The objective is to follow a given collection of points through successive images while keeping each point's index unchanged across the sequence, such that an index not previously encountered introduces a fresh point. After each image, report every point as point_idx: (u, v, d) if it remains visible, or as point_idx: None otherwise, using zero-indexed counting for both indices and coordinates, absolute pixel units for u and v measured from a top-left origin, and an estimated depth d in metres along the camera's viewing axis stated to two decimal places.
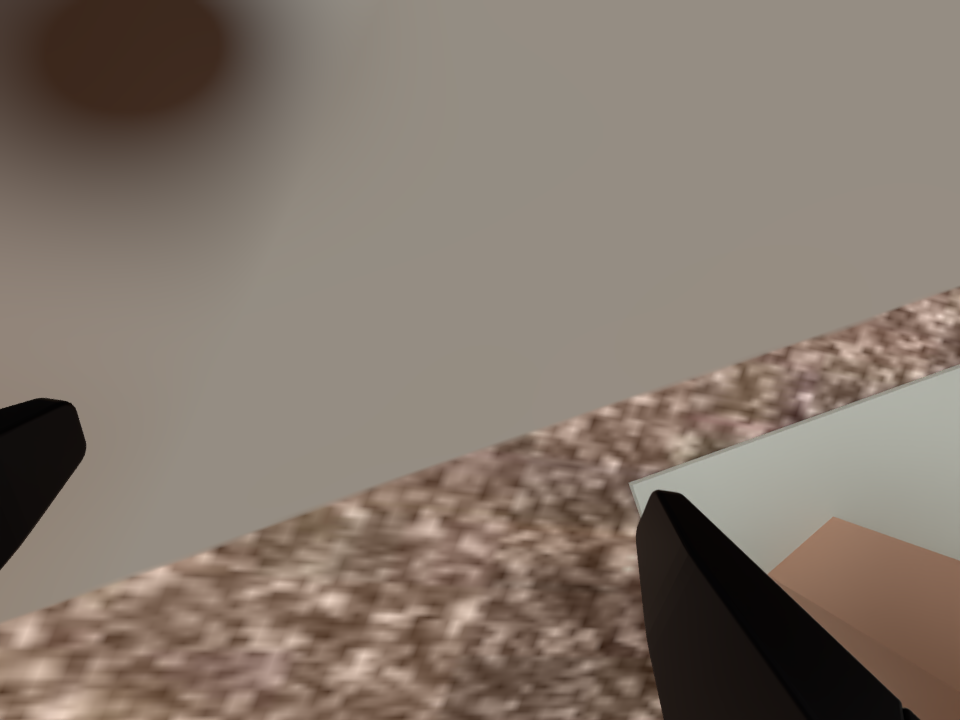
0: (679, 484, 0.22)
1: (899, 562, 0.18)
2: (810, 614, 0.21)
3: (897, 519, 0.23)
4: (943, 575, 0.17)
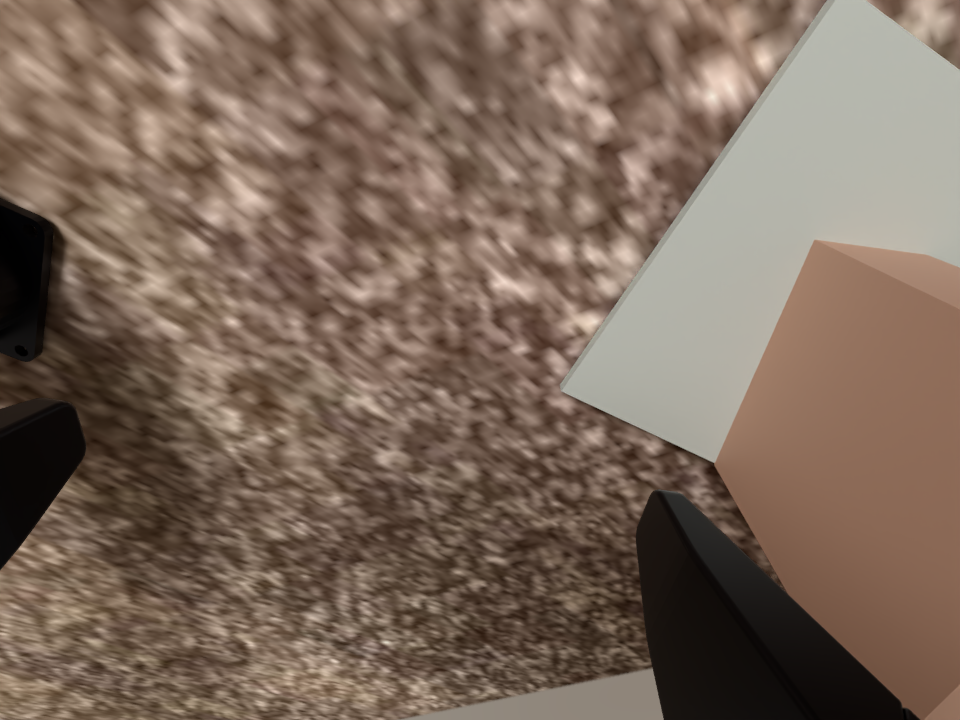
0: (879, 49, 0.15)
1: None
2: (820, 293, 0.17)
3: None
4: None
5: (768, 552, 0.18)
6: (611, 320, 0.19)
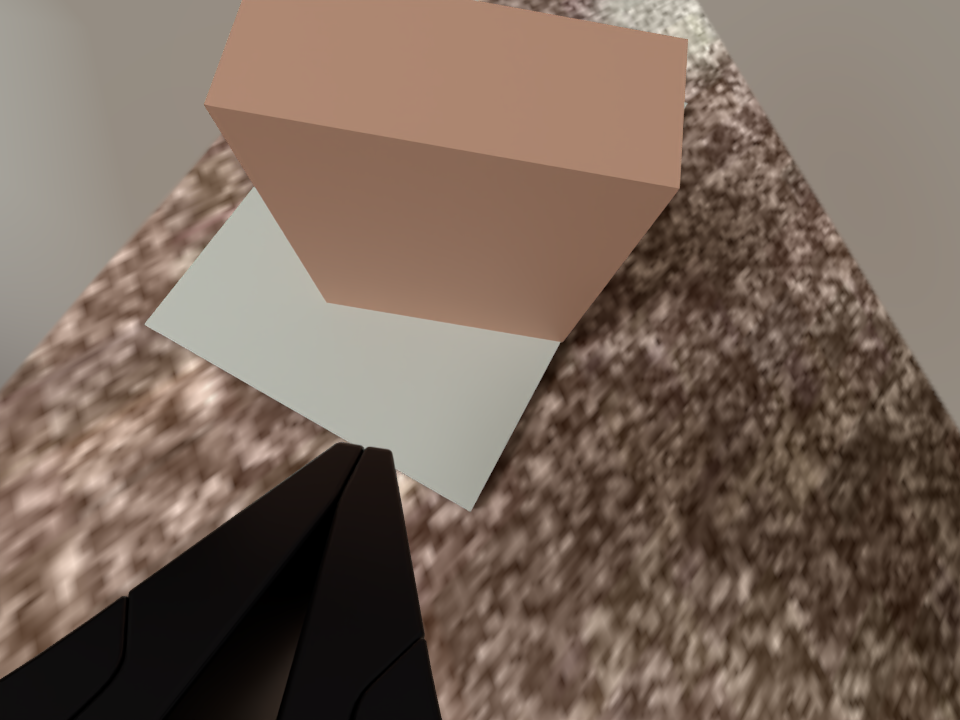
0: (190, 292, 0.21)
1: None
2: (353, 294, 0.20)
3: None
4: None
5: (590, 297, 0.16)
6: None
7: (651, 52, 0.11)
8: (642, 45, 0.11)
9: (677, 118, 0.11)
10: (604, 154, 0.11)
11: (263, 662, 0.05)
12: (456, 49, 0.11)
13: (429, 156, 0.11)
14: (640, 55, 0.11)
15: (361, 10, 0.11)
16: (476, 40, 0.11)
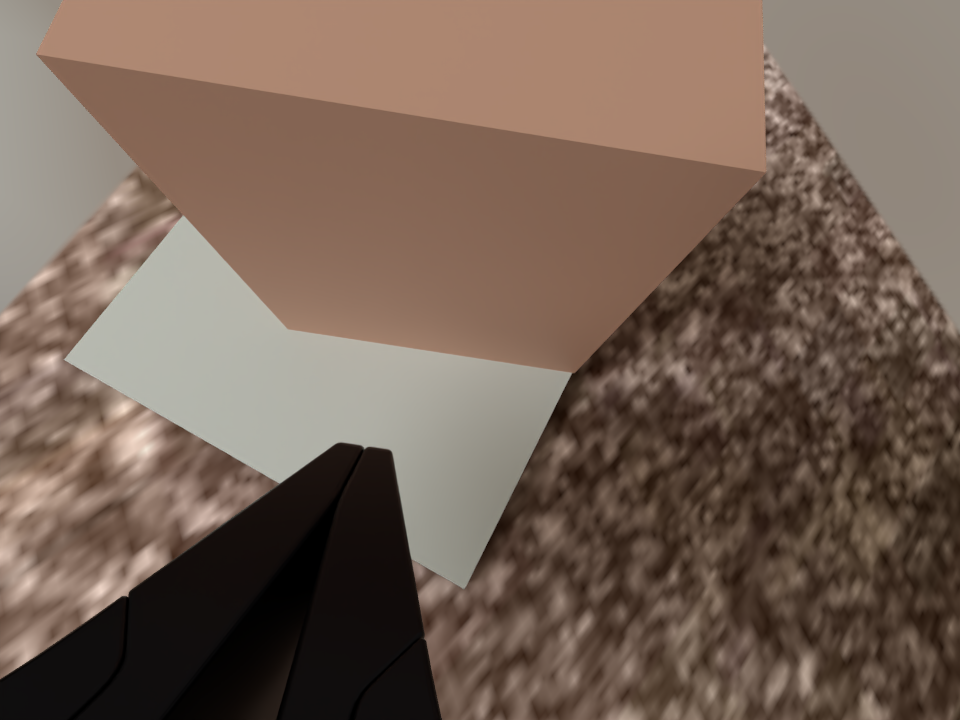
0: (122, 319, 0.17)
1: None
2: (317, 320, 0.16)
3: None
4: None
5: (613, 323, 0.13)
6: None
7: None
8: None
9: (754, 69, 0.07)
10: (650, 122, 0.07)
11: (263, 662, 0.05)
12: None
13: (384, 131, 0.07)
14: None
15: None
16: None
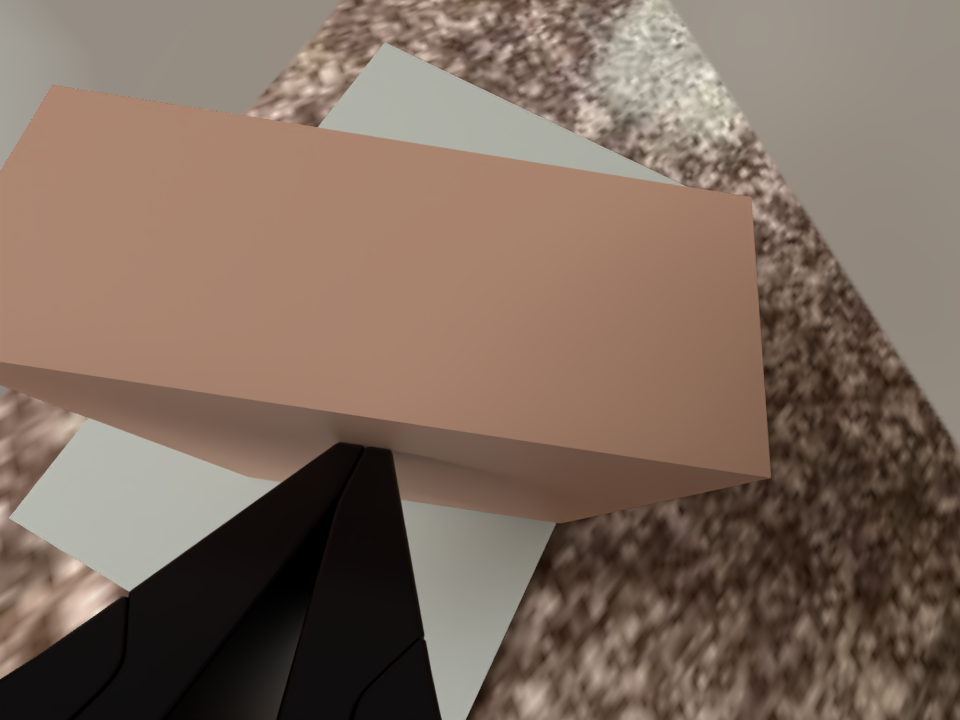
0: (73, 469, 0.16)
1: None
2: (278, 477, 0.15)
3: None
4: None
5: (599, 511, 0.12)
6: None
7: (695, 220, 0.07)
8: (679, 208, 0.07)
9: (750, 338, 0.06)
10: (631, 413, 0.06)
11: (263, 662, 0.05)
12: (371, 225, 0.07)
13: (319, 417, 0.06)
14: (678, 226, 0.07)
15: (215, 162, 0.07)
16: (407, 208, 0.07)
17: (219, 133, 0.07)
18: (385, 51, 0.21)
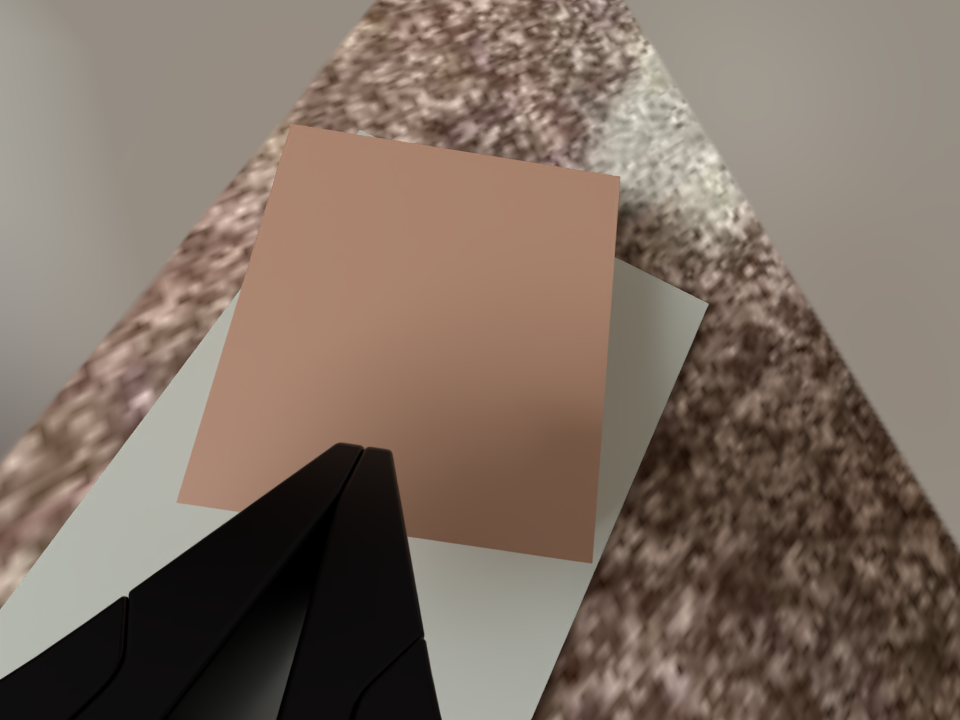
0: (5, 640, 0.14)
1: None
2: (252, 449, 0.12)
3: None
4: None
5: (599, 368, 0.13)
6: None
7: None
8: None
9: None
10: None
11: (263, 662, 0.05)
12: None
13: (443, 159, 0.15)
14: None
15: None
16: None
17: None
18: None
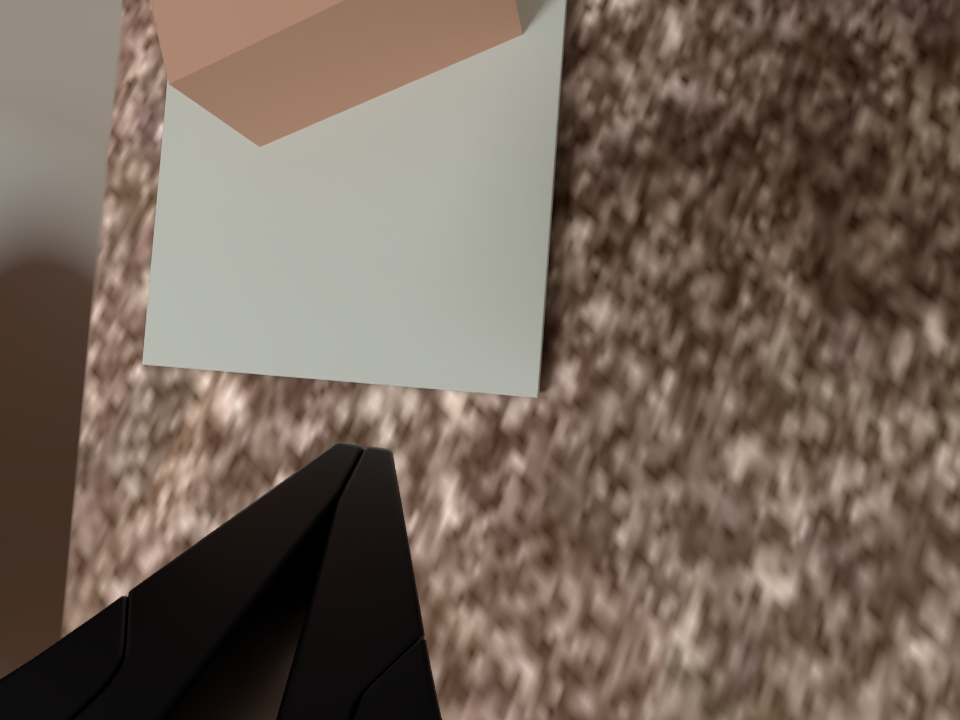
0: (162, 312, 0.19)
1: None
2: (198, 18, 0.14)
3: None
4: None
5: None
6: (429, 388, 0.17)
7: None
8: None
9: None
10: None
11: (263, 662, 0.05)
12: None
13: None
14: None
15: None
16: None
17: None
18: None
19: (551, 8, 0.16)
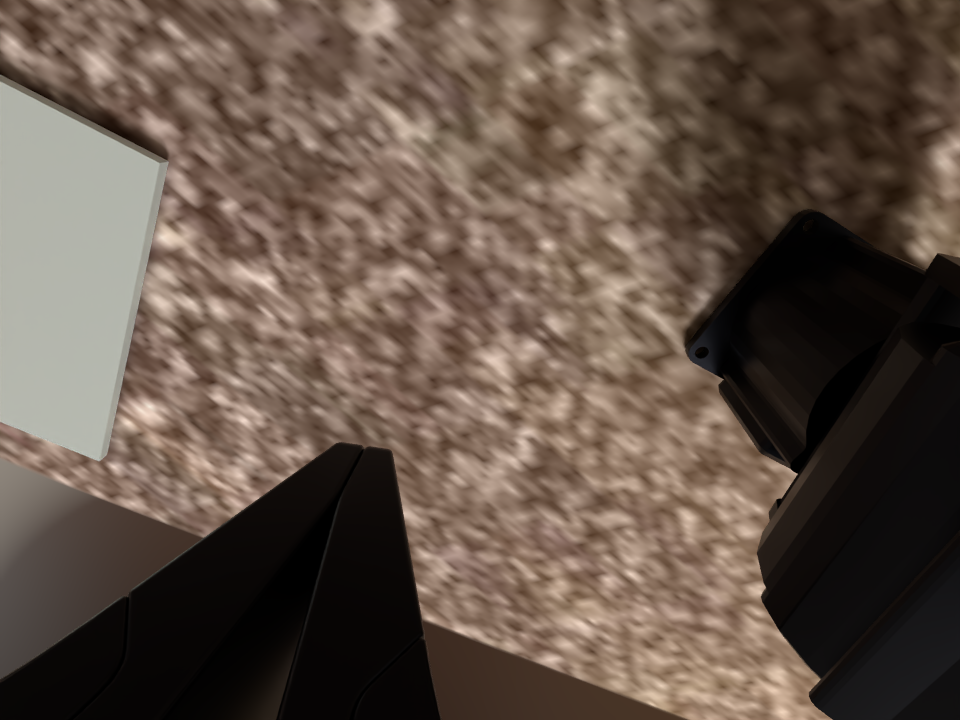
0: (57, 433, 0.23)
1: None
2: None
3: None
4: None
5: None
6: (141, 253, 0.19)
7: None
8: None
9: None
10: None
11: (263, 662, 0.05)
12: None
13: None
14: None
15: None
16: None
17: None
18: None
19: None
